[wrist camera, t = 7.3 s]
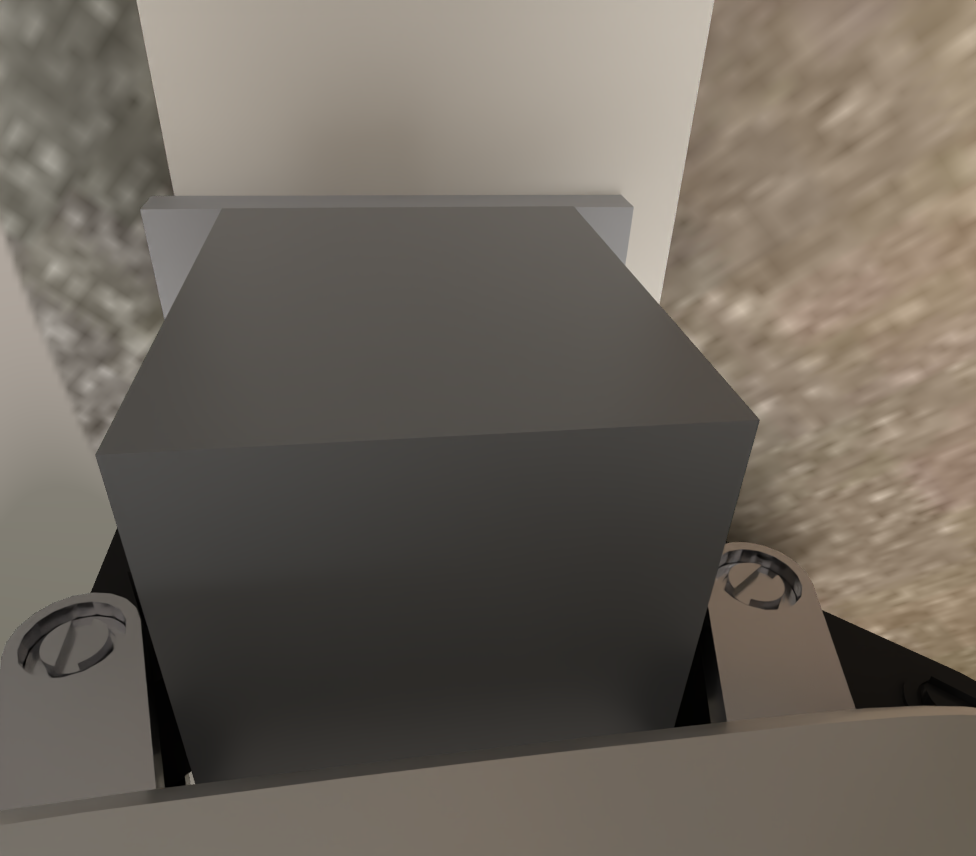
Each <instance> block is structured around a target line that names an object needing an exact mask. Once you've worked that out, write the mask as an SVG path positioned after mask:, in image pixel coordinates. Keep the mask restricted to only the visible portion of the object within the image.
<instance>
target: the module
mask: <svg viewBox="0 0 976 856" xmlns="http://www.w3.org/2000/svg"><path fill="white" fill-rule="evenodd" d="M759 421H760V420H759V419H758V417H757V416H756V415H755V414H754V413H753V412H752V410H751V409H750V408H749V407H748V406H747V405H746V404H745V402H744V401H743V400H742V399H741V398H740V397H739V396H738V394H737V393H736V392H735V391H734V390H733V389H732V388H731V386H730V385H729V384H728V383H727V382H726V381H725V379H724V378H723V377H722V376H721V375H720V374H719V373H718V371H717V370H716V369H715V368H714V367H713V366H712V365H711V363H710V362H709V361H708V360H707V359H706V358H705V356H704V355H703V354H702V353H701V352H700V351H699V350H698V348H697V347H696V346H695V345H694V344H693V343H692V342H691V340H690V339H689V338H688V337H687V336H686V335H685V334H684V332H683V331H682V330H681V329H680V328H679V327H678V325H677V324H676V323H675V322H674V321H673V320H672V319H671V317H670V316H669V315H668V314H667V313H666V312H665V311H664V309H663V308H662V307H661V306H660V305H659V304H658V303H657V301H656V300H655V299H654V298H653V297H652V296H651V294H650V293H649V292H648V291H647V290H646V289H645V288H644V286H643V285H642V284H641V283H640V282H639V281H638V280H637V278H636V277H635V276H634V275H633V274H632V273H631V272H630V270H629V269H628V268H627V267H626V266H625V265H624V263H623V262H622V261H621V260H620V259H619V258H618V257H617V255H616V254H615V253H614V252H613V251H612V250H611V249H610V247H609V246H608V245H607V244H606V243H605V242H604V241H603V239H602V238H601V237H600V236H599V235H598V234H597V232H596V231H595V230H594V229H593V228H592V227H591V226H590V224H589V223H588V222H587V221H586V220H585V219H584V218H583V216H582V215H581V214H580V213H579V212H578V211H577V210H576V208H575V207H574V206H513V207H354V208H222V209H221V211H220V213H219V215H218V217H217V219H216V221H215V223H214V225H213V227H212V229H211V231H210V233H209V235H208V236H207V238H206V240H205V242H204V244H203V246H202V248H201V250H200V252H199V254H198V256H197V258H196V260H195V262H194V264H193V266H192V268H191V270H190V272H189V274H188V275H187V277H186V279H185V281H184V283H183V285H182V287H181V289H180V291H179V293H178V295H177V297H176V299H175V301H174V303H173V305H172V307H171V309H170V311H169V313H168V314H167V316H166V318H165V320H164V322H163V324H162V326H161V328H160V330H159V332H158V334H157V336H156V338H155V340H154V342H153V344H152V346H151V348H150V350H149V352H148V353H147V355H146V357H145V359H144V361H143V363H142V365H141V367H140V369H139V371H138V373H137V375H136V377H135V379H134V381H133V383H132V385H131V387H130V389H129V391H128V392H127V394H126V396H125V398H124V400H123V402H122V404H121V406H120V408H119V410H118V412H117V414H116V416H115V418H114V420H113V422H112V424H111V426H110V428H109V430H108V431H107V433H106V435H105V437H104V439H103V441H102V443H101V445H100V447H99V449H98V451H97V453H96V459H97V462H98V465H99V468H100V472H101V475H102V478H103V482H104V485H105V488H106V491H107V495H108V498H109V501H110V505H111V508H112V511H113V514H114V518H115V521H116V524H117V528H118V531H119V534H120V538H121V541H122V544H123V547H124V551H125V554H126V557H127V561H128V564H129V567H130V570H131V574H132V577H133V580H134V584H135V587H136V590H137V593H138V597H139V600H140V603H141V607H142V610H143V613H144V616H145V620H146V623H147V626H148V630H149V633H150V636H151V639H152V643H153V646H154V649H155V653H156V656H157V659H158V662H159V666H160V669H161V672H162V676H163V679H164V682H165V686H166V689H167V692H168V695H169V699H170V702H171V705H172V709H173V712H174V715H175V718H176V722H177V725H178V728H179V732H180V735H181V738H182V741H183V745H184V748H185V751H186V755H187V758H188V761H189V764H190V768H191V771H192V774H193V778H194V781H195V784H201V783H209V782H218V781H226V780H234V779H242V778H250V777H258V776H267V775H275V774H283V773H291V772H299V771H307V770H315V769H324V768H332V767H340V766H348V765H356V764H365V763H373V762H382V761H390V760H399V759H407V758H416V757H424V756H432V755H441V754H449V753H458V752H466V751H475V750H483V749H492V748H501V747H509V746H518V745H526V744H535V743H544V742H552V741H561V740H569V739H578V738H587V737H596V736H605V735H614V734H623V733H631V732H640V731H649V730H658V729H667V728H674V726H675V722H676V718H677V715H678V711H679V708H680V704H681V700H682V697H683V693H684V690H685V686H686V682H687V679H688V675H689V672H690V668H691V665H692V661H693V657H694V654H695V650H696V647H697V643H698V639H699V636H700V632H701V629H702V625H703V622H704V618H705V614H706V611H707V607H708V604H709V600H710V596H711V593H712V589H713V586H714V582H715V578H716V575H717V571H718V568H719V564H720V561H721V557H722V553H723V550H724V546H725V543H726V539H727V535H728V532H729V528H730V525H731V521H732V518H733V514H734V510H735V507H736V503H737V500H738V496H739V492H740V489H741V485H742V482H743V478H744V474H745V471H746V467H747V464H748V460H749V457H750V453H751V449H752V446H753V442H754V439H755V435H756V431H757V428H758V424H759Z"/></svg>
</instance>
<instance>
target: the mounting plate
mask: <svg viewBox="0 0 976 856" xmlns="http://www.w3.org/2000/svg"><path fill="white" fill-rule="evenodd" d="M136 1H137V6H138V11H139V16H140V21H141V26H142V32H143V37H144V42H145V47H146V52H147V57H148V63H149V68H150V73H151V78H152V83H153V88H154V94H155V99H156V104H157V109H158V114H159V119H160V125H161V130H162V135H163V140H164V145H165V150H166V155H167V161H168V166H169V171H170V176H171V181H172V186H173V192H174V196H151V197H150V198H149V199H148V200H147V202H146V203H145V204H144V205H143V206H142V208H141V209H140V211H141V215H142V220H143V224H144V229H145V234H146V238H147V243H148V247H149V252H150V256H151V261H152V265H153V270H154V274H155V279H156V283H157V288H158V292H159V297H160V301H161V306H162V310H163V315H164V319H165V318H166V316H167V314H168V313H169V311H170V309H171V307H172V305H173V303H174V301H175V299H176V297H177V295H178V293H179V291H180V289H181V287H182V285H183V283H184V281H185V279H186V277H187V275H188V274H189V272H190V270H191V268H192V266H193V264H194V262H195V260H196V258H197V256H198V254H199V252H200V250H201V248H202V246H203V244H204V242H205V240H206V238H207V236H208V235H209V233H210V231H211V229H212V227H213V225H214V223H215V221H216V219H217V217H218V215H219V213H220V211H221V209H222V208H354V207H513V206H574V207H575V208H576V210H577V211H578V212H579V213H580V214H581V215H582V216H583V218H584V219H585V220H586V221H587V222H588V223H589V224H590V226H591V227H592V228H593V229H594V230H595V231H596V232H597V234H598V235H599V236H600V237H601V238H602V239H603V241H604V242H605V243H606V244H607V245H608V246H609V247H610V249H611V250H612V251H613V252H614V253H615V254H616V255H617V257H618V258H619V259H620V260H621V261H622V262H623V263H624V265H625V266H626V267H627V268H628V269H629V270H630V272H631V273H632V274H633V275H634V276H635V277H636V278H637V280H638V281H639V282H640V283H641V284H642V285H643V286H644V288H645V289H646V290H647V291H648V292H649V293H650V294H651V296H652V297H653V298H654V299H655V300H656V301H657V303H658V304H660V298H661V293H662V287H663V282H664V276H665V271H666V265H667V260H668V254H669V249H670V243H671V237H672V232H673V226H674V221H675V215H676V210H677V204H678V199H679V193H680V188H681V182H682V177H683V171H684V166H685V160H686V155H687V149H688V143H689V138H690V132H691V127H692V121H693V116H694V110H695V105H696V99H697V94H698V88H699V83H700V77H701V72H702V66H703V61H704V55H705V49H706V44H707V38H708V33H709V27H710V22H711V16H712V11H713V5H714V0H136Z"/></svg>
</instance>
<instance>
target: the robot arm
mask: <svg viewBox="0 0 976 856" xmlns="http://www.w3.org/2000/svg"><path fill="white" fill-rule="evenodd" d="M190 772H191V768H190V764H189V761H188V758H187V755H186V751H185V748H184V745H183V741H182V738H181V735H180V732H179V728H178V725H177V722H176V718H175V715H174V712H173V709H172V705H171V702H170V699H169V695H168V692H167V689H166V686H165V682H164V679H163V676H162V672H161V669H160V666H159V662H158V659H157V656H156V653H155V649H154V646H153V643H152V639H151V636H150V633H149V630H148V626H147V623H146V620H145V616H144V613H143V610H142V607H141V603H140V600H139V597H138V593H137V590H136V587H135V584H134V580H133V577H132V574H131V570H130V567H129V564H128V561H127V557H126V554H125V551H124V547H123V544H122V541H121V538H120V534H119V531H118V528H117V530H116V532H115V535H114V537H113V540H112V542H111V544H110V547H109V549H108V552H107V554H106V557H105V559H104V562H103V564H102V566H101V569H100V571H99V574H98V576H97V579H96V581H95V583H94V586H93V588H92V591H91V593H88V594H82V595H76V596H71V597H68V598H66V599H63V600H60V601H57V602H54V603H52V604H50V605H48V606H47V607H45V608H43V609H41V610H39V611H38V612H36V613H34V614H33V615H32V616H30V617H29V618H28V619H27V620H25V621H24V622H23V623H22V624H21V625H20V626H18V627H17V629H16V630H15V631H14V633H13V634H12V635H11V637H10V638H9V639H8V641H7V642H6V645H5V648H4V651H3V654H2V657H1V665H0V856H976V681H974V680H973V679H971V678H969V677H967V676H965V675H964V674H962V673H960V672H958V671H955V670H953V669H951V668H949V667H947V666H944V665H942V664H940V663H938V662H936V661H933V660H931V659H929V658H927V657H925V656H922V655H920V654H918V653H916V652H913V651H911V650H909V649H907V648H905V647H902V646H900V645H898V644H896V643H894V642H891V641H889V640H887V639H885V638H883V637H880V636H878V635H876V634H874V633H871V632H869V631H867V630H865V629H863V628H860V627H858V626H856V625H854V624H852V623H849V622H847V621H845V620H843V619H841V618H838V617H836V616H834V615H832V614H829V613H827V612H825V611H823V610H822V609H821V606H820V603H819V600H818V597H817V594H816V591H815V588H814V585H813V583H812V581H811V580H810V578H809V576H808V574H807V573H806V572H805V571H804V570H803V569H802V568H801V567H800V566H799V565H798V564H797V563H796V562H795V561H794V560H792V559H791V558H789V557H788V556H786V555H784V554H783V553H781V552H779V551H777V550H774V549H772V548H769V547H767V546H764V545H759V544H754V543H749V542H731V543H727V541H726V543H725V546H724V550H723V553H722V557H721V561H720V564H719V568H718V571H717V575H716V578H715V582H714V586H713V589H712V593H711V596H710V600H709V604H708V607H707V611H706V614H705V618H704V622H703V625H702V629H701V632H700V636H699V639H698V643H697V647H696V650H695V654H694V657H693V661H692V665H691V668H690V672H689V675H688V679H687V682H686V686H685V690H684V693H683V697H682V700H681V704H680V708H679V711H678V715H677V718H676V722H675V726H674V728H667V729H658V730H649V731H640V732H631V733H623V734H614V735H605V736H596V737H587V738H578V739H569V740H561V741H552V742H544V743H535V744H526V745H518V746H509V747H501V748H492V749H483V750H475V751H466V752H458V753H449V754H441V755H432V756H424V757H416V758H407V759H399V760H390V761H382V762H373V763H365V764H356V765H348V766H340V767H332V768H324V769H315V770H307V771H299V772H291V773H283V774H275V775H267V776H258V777H250V778H242V779H234V780H226V781H218V782H209V783H201V784H193V785H191V784H190V777H189V774H188V773H190Z"/></svg>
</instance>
